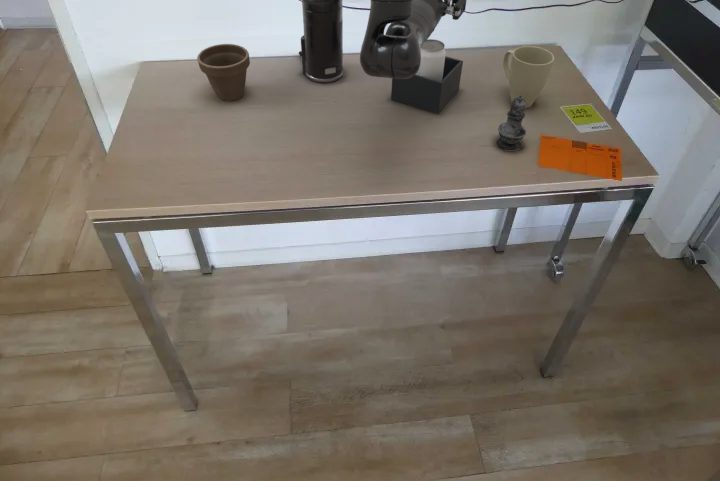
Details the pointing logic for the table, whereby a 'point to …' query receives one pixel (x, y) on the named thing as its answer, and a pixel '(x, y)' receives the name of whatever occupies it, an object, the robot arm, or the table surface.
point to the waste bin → (429, 88)
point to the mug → (527, 72)
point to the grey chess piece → (513, 127)
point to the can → (432, 60)
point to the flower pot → (225, 69)
